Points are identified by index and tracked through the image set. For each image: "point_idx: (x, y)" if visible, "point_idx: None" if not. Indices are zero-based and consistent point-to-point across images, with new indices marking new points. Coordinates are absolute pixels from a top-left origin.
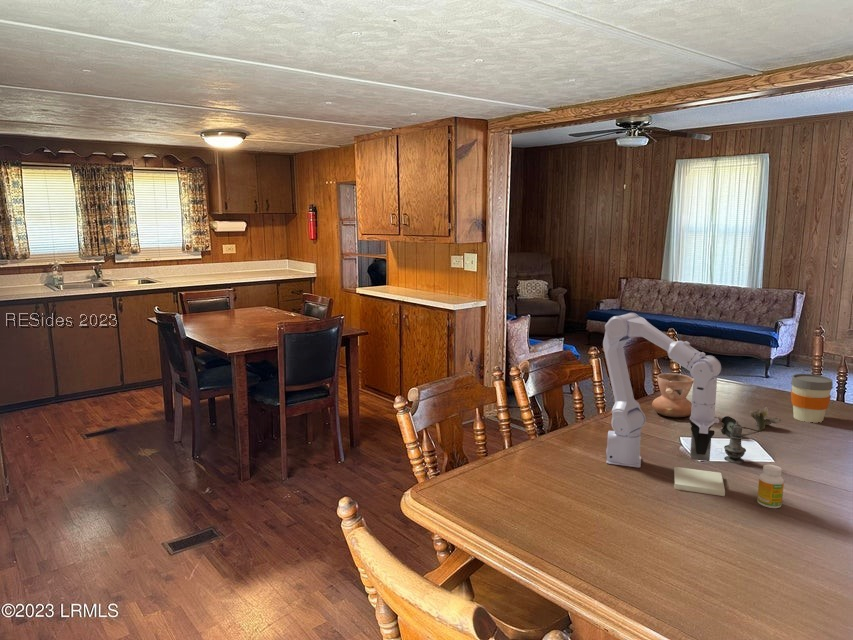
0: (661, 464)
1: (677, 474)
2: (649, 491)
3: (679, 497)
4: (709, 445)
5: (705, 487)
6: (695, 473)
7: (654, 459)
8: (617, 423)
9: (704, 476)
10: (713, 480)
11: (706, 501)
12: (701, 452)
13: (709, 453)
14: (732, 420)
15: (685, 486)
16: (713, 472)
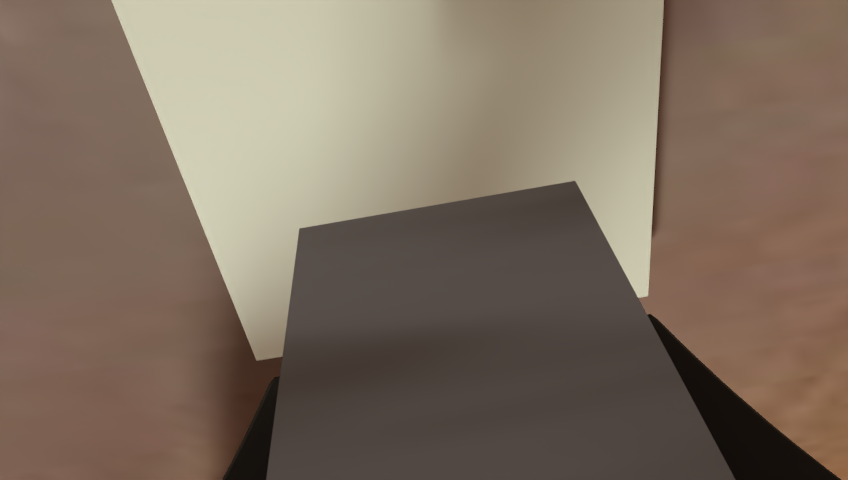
0: (173, 417)
1: None
2: (729, 383)
3: (787, 214)
4: (679, 404)
5: (643, 62)
6: (307, 194)
7: (106, 466)
8: None
9: (339, 107)
10: (402, 5)
11: (828, 7)
12: None
13: (617, 271)
14: None
15: (648, 219)
16: (148, 31)
